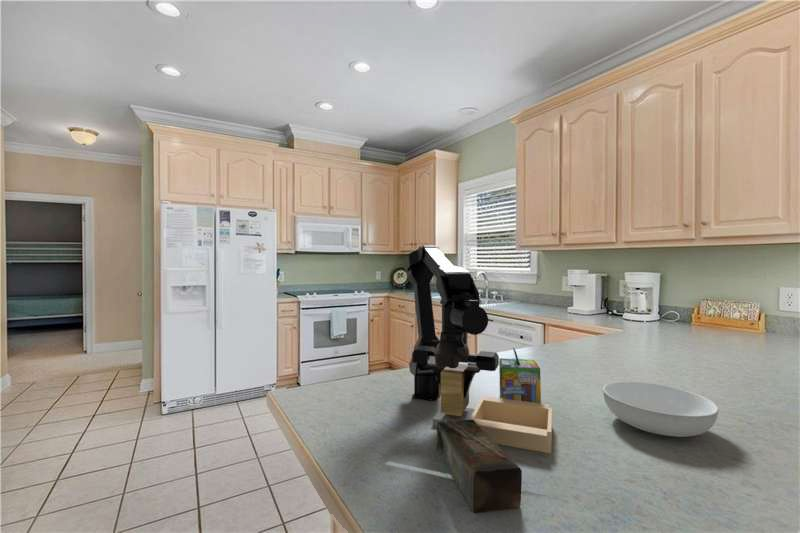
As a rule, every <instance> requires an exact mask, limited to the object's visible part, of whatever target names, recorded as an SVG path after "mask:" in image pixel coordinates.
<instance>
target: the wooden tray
mask: <svg viewBox="0 0 800 533" xmlns="http://www.w3.org/2000/svg"><path fill="white" fill-rule="evenodd" d="M549 406H550V405H549V404H548V403H547V404H546V403H541V404H540V403H533V402H525V401H518V400H510V399H503V398H500V397H496V396H495V397H494V396H487V395H486V396H484V398H480V399H479V401H478V403H477V405H476V406H475V408H474V409H475V410H474V412H473V414H472V416H471V417H470V420H474V421H475V422H476V423H477V425H478V426H479V427H480V428H481V429H482V430H483V431H484V432H485V433H486V434H487V435H488V436H489V437H490V438H491V439H492V440H493V441H494V442H495V443H496V444H497V445H502V446H506V447H507V446H508V447H512V448H518V449H523V450H528V451H535V452H542V453H546V454H552V437H553V435H552V434H553V408H552V407H549Z"/></svg>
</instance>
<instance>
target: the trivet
mask: <svg viewBox="0 0 800 533" xmlns="http://www.w3.org/2000/svg"><path fill="white" fill-rule="evenodd" d="M474 410H475V408H471V407H470V408H469V407H466V409H465V410H464V412H463V414H462V415H461V416H457V415H451V414H445V413H441V408H440V409H439V410H438V411H437V413H436V414H435V415H434V416H433V417H432V427H436V428H437V423H438V422H444V421H446V420H448V419H450V420H453V421H459V420H470V417H471V416H472V414H473V412H474Z"/></svg>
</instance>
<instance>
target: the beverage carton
mask: <svg viewBox="0 0 800 533" xmlns="http://www.w3.org/2000/svg"><path fill="white" fill-rule="evenodd" d="M436 450H437V451H438V453H439V454H440V456H441V458H442V460H443V461H444V463H445V465H446V467H447V468H448V471H449V472H450V476H451V477H452V479H453V480H454V482H455V484H456V485H457V487H458V489H459V490H460V492H461V494H462V495H463V497H464V498H465V500H466V502H467V504H468V505H469V507H470V508H471V510H472V512H473V513H481V512H482V513H483V512H488V511H501V510H510V509H520V507H521V505H522V503H521V502H522V485H523V484H522V482H523V481H522V480H523V477H522V476H523V475H522V474H523V472H522V469H521V467H519V465H517V463H516V462H515V461H514V460H513V459H512V458H511V457H510V456H509V455H508V454H507V453H506V452H505V451H504V450H503V449H502V448H501V447H500V446H499V444H496V443H495V442H494V441H493V440H492V439H491V438H490V437H489V436H488V435H487V434H486V433H485V432H484V431H483V430H482V429H481V428H480V427H479V426H478V425H477V423H476V422H475V421H474V420H459V421H453V420H450V419H448V420H446V421H444V422H438V423H437V427H436Z"/></svg>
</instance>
